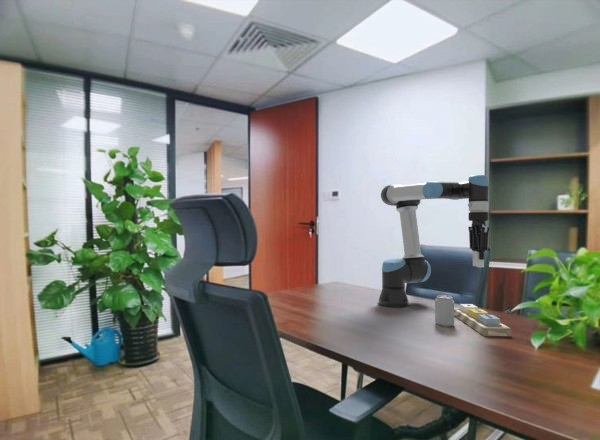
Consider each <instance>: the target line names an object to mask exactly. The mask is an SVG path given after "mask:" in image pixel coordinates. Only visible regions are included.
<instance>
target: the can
mask: <svg viewBox="0 0 600 440" xmlns="http://www.w3.org/2000/svg"><path fill="white" fill-rule="evenodd" d="M454 308H455V300H454V299H453V296H451V295H445V294H439V295H436V298H434V322H435V323H436V324H437V325H438V326H439V327H445V328H448V327H452V326H454V325H455V316H454Z"/></svg>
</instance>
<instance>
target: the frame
mask: <svg viewBox="0 0 600 440" xmlns="http://www.w3.org/2000/svg"><path fill="white" fill-rule="evenodd" d="M454 317H455V318H457V319H459V320H460V321H462V322H463V323H464V324H466V325H467V326H469V327H471V328H472V329H474V330H475V331H476V332H477V333H479V334H480V335H483V336H484V337H512V329H511V327H509V326H507V325H506V324H503V323H502V322H500V326H484V325H482V324H481V323H479V322H478V319H473V318H471V317H469V316H468V314H465V313H463V312H461V311H460V307H454Z"/></svg>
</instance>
